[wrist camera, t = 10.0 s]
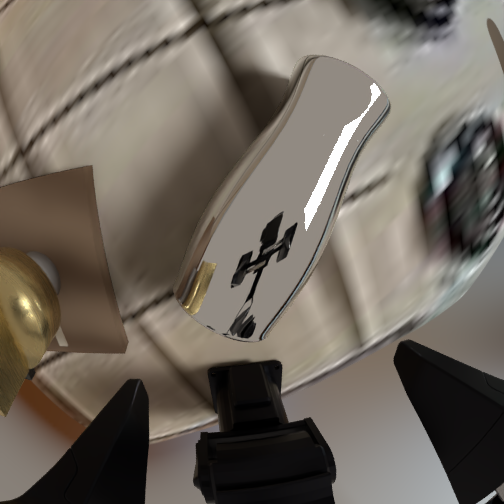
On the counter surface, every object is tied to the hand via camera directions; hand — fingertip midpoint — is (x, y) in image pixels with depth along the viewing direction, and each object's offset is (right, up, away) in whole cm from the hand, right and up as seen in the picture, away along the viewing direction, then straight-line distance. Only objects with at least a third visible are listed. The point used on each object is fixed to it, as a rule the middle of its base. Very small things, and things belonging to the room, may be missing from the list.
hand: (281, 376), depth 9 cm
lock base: (-17, +3, +9) cm, 19 cm away
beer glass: (+4, +14, +5) cm, 15 cm away
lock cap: (-16, 0, +5) cm, 17 cm away
